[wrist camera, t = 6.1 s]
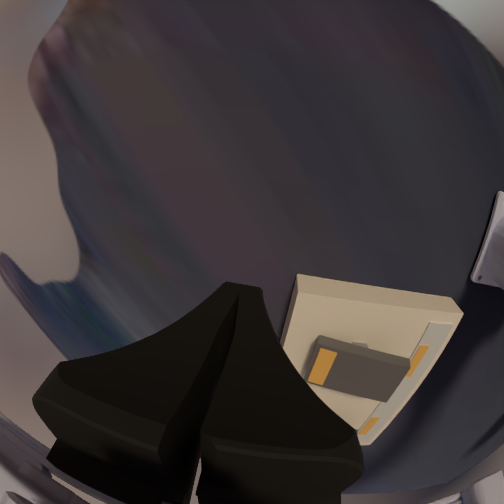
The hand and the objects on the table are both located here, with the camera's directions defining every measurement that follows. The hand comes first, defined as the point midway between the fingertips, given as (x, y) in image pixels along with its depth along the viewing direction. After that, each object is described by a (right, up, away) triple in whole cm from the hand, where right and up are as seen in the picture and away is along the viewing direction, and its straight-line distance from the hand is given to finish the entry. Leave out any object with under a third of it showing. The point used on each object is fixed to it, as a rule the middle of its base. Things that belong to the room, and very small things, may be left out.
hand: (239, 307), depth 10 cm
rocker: (+8, -7, +8) cm, 13 cm away
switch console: (+9, -10, +13) cm, 19 cm away
